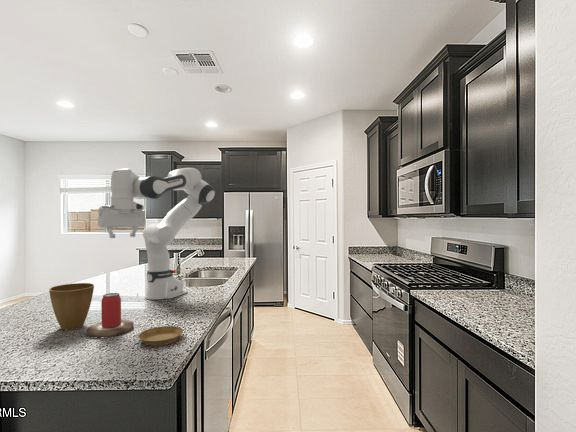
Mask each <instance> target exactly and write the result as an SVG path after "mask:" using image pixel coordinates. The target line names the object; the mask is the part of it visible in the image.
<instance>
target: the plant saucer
mask: <svg viewBox="0 0 576 432" xmlns="http://www.w3.org/2000/svg"><path fill="white" fill-rule="evenodd" d="M183 333H184V329H183V328H182V327H180V326H175V325H174V326H173V325H166V326H165V325H164V326H163V325H162V326H156V327H152V328H148V329H146V330H144V331H143V330H142V331H141V332H140V333H139V334H138V335H137V338H138V339H139V340H140V341H141V342H142V343H143V344H145V345H147V346H151V347H157V346H165V345H169V344H172V343H174V342H176V341H177V340H178V339H179V338H181V336H182V334H183Z"/></svg>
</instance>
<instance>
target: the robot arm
mask: <svg viewBox="0 0 576 432" xmlns="http://www.w3.org/2000/svg"><path fill="white" fill-rule="evenodd" d="M110 190H111V197H110V205H102V206H100V207H99V208H98V218H97V226H98V228H101V229H102V228H105V229H106V232H107V233H108V235H109V239H115V238H116V233H114V232H113V229H114V228H128V227H130V228H131V229H132V231H131V232H130V233H129V235H130V236H129V237H130V238H135V237H136V234H137V231H138V228H139V227H144V226H145V225H146V214H145V211H144V210H145V206H144V205H143V204H141V203H138V202H136V201H134V200H135V199H136V200H142V199H143V200H146V199H152V200H155V199H157V200H158V199H159V198H162V196H163V195H164V194H166V193H167V192H169V191H182V192H185V194H187V197H186V198H184V199H182V200H181V201H179V203H178V204H176V205H175V206H174V207H172V209H170V210H169V211H168V212H166V213H167V214H166V216H164V218H163V219H162V220H161V221H160V222H158V223H151V224H149V225H147V226H146V227H145V228H144V229H143V231H142V236H143V239H144V244H145V249H146V254H147V273H146V279H147V285H146V286H147V287H146V293H145V297H144V298H145V299H147V300H164V299H165V300H166V299H167V300H168V299H169V300H170V299H173V298H177V297H179V296H182V295H185V294H187V293H189V292H188V290H187V289H184V284H183V282H182V281H181V280H180V279H178V278H177V277H175V276H174V275H173V274H176V273H177V270H176V269H171V262H170V261H171V260H170V259H171V258H170V257H171V256H170V252H169V250H168V246H167V245H169V244H171V243H172V242H174V240H175V238H176V236H177V235H178V234H179V232H180V231H181V229H182V228H183V227H184V226H185V225H186V224H187V223H189V221H191V220H192V219H193V218H194V217H195V216H196V215H197V213H199V211H200V210H201V209H202V206H204V205H206V204H209V203H210V202H212V201H213V200H214V199H215V196H216V189H215V187H214V186H213V185H211V184H209V183H207V181H205V180H203V179H202V173H201V172H200V170H198V169H197V168H195V167H184V168H183V167H182V168H177V169H174V170H171V171H170V172H168V174H167V177H159V176H156V175H151V176H150V175H149V176H146V177H142V176H138V175H137V174H135V173H134V172H133V170H132V169H130V168H121V169H120V168H119V169H115V170H113V171H112V173H111V178H110Z"/></svg>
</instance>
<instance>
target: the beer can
mask: <svg viewBox="0 0 576 432" xmlns="http://www.w3.org/2000/svg"><path fill="white" fill-rule="evenodd" d="M100 303H101V305H100V306H101V307H100V308H101V322H102V327H103V328H114V327H117V326H119V325H120V324H121V320H122V298H121V296H120V293H119V292H112V293H110V292H109V293H105V294H103V295H102V298H101V301H100Z"/></svg>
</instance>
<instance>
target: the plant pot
mask: <svg viewBox="0 0 576 432" xmlns="http://www.w3.org/2000/svg"><path fill="white" fill-rule="evenodd" d="M48 290H49V296H50V301H51V303H50V304H51V307H52V310H53V313H54V316H55V318H56V321H57V324H58V325H59V328H60V329H61V330H64V331H69V330H70V331H71V329H72V330H76V328H77V329H79V328H82V327H83V326H84V325H85V323H86V322H85V321H86V319H87V317H88V314H89V311H90V308H91V304H92V299H93V294H94V290H95V284H94V283H91V282H79V283H77V282H75V283H67V284H66V283H65V284H60V285H55V286H52V287H50V288H48Z"/></svg>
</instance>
